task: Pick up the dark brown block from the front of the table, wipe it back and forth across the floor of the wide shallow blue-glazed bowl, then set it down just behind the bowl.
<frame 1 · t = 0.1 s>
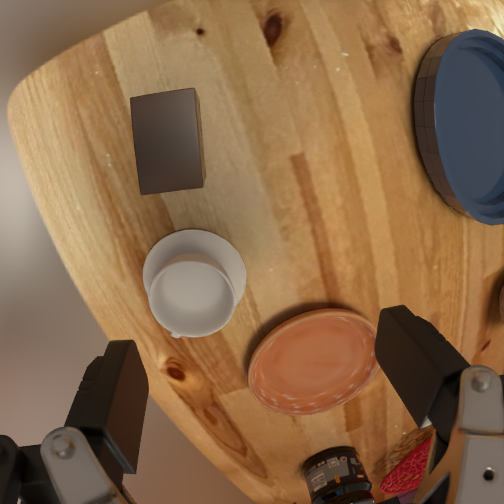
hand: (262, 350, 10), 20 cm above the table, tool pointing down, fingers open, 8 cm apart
glazed bowl: (481, 124, 27), on the table
saucer: (312, 355, 36), on the table
dark brown block: (176, 139, 25), on the table
teacup: (194, 277, 30), on the table
supplement container: (329, 459, 46), on the table
bowl: (431, 443, 52), on the table
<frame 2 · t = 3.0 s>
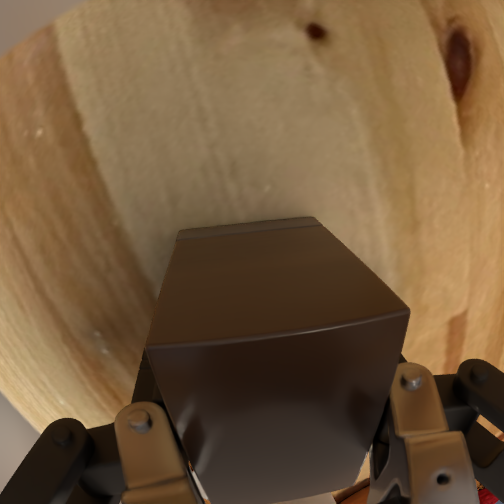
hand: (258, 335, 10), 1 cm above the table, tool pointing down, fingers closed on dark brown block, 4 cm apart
dark brown block: (254, 314, 12), on the table, touching gripper
teacup: (267, 472, 17), on the table
bowl: (464, 500, 38), on the table
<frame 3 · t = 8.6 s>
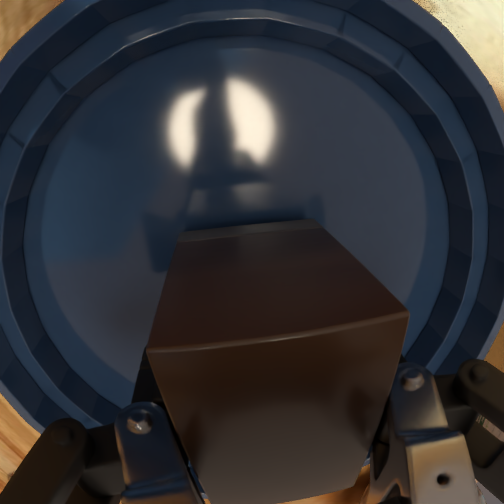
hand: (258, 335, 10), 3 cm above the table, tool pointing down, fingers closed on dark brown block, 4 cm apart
glazed bowl: (246, 287, 13), on the table
dark brown block: (255, 315, 12), point 1 cm above the table, touching gripper
syrup box: (496, 393, 21), on the table
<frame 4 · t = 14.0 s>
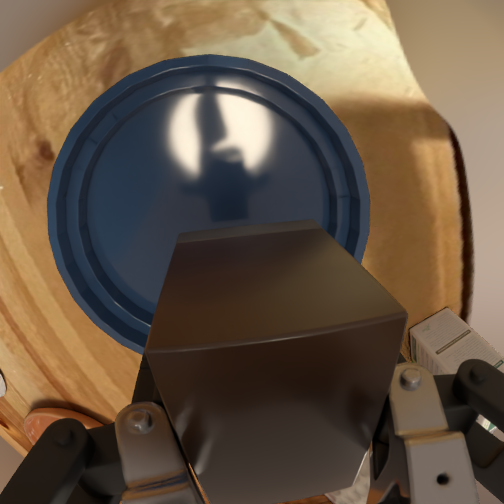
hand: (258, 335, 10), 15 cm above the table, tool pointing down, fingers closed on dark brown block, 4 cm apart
glazed bowl: (206, 217, 24), on the table
saucer: (81, 435, 32), on the table
dark brown block: (254, 315, 12), point 13 cm above the table, touching gripper
vase: (345, 401, 34), on the table
syrup box: (428, 333, 31), on the table
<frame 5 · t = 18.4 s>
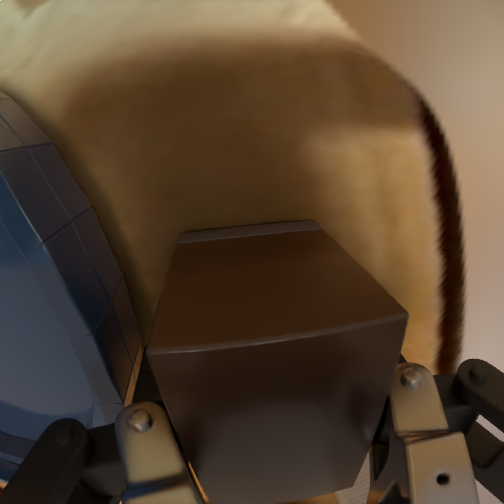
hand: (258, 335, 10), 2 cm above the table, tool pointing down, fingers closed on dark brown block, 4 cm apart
dark brown block: (254, 316, 12), on the table, touching gripper
syrup box: (366, 459, 18), on the table
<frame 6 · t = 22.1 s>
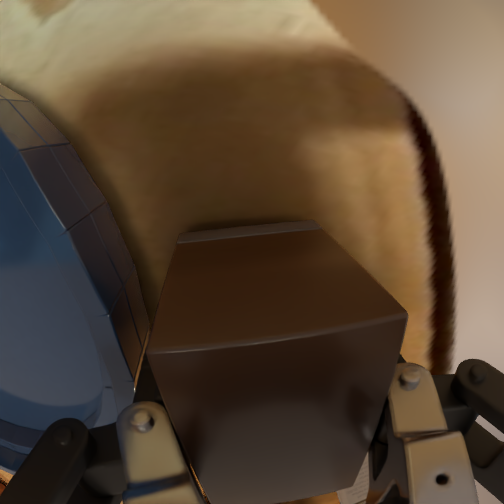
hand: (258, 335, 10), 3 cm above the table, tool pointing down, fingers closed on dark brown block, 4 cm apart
dark brown block: (254, 316, 12), point 1 cm above the table, touching gripper
syrup box: (364, 450, 19), on the table
when the fingers open (2 cm above the table, at t = 25.2 s): dark brown block drops 1 cm, on the table.
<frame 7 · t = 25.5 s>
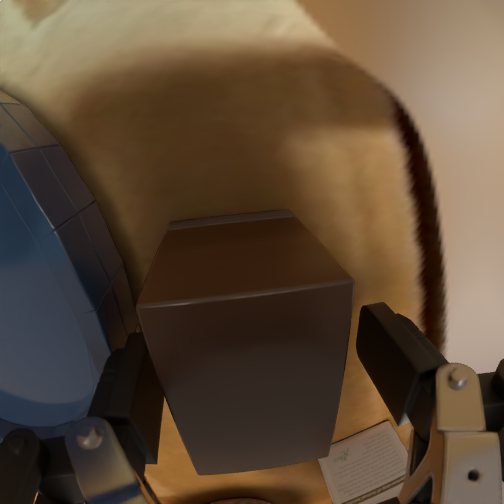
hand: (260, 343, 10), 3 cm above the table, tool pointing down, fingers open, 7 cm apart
dark brown block: (238, 297, 13), on the table
syrup box: (356, 448, 19), on the table
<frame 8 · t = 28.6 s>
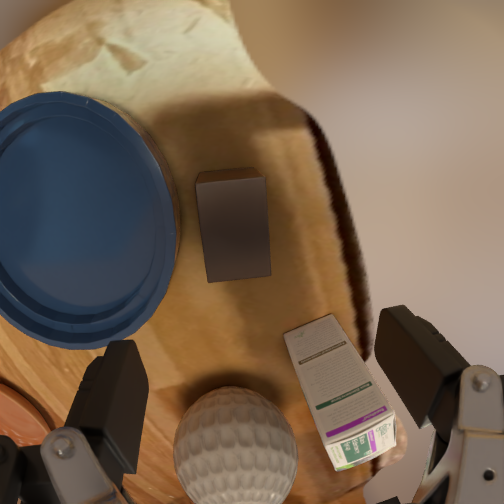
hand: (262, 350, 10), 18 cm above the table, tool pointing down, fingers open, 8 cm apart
glazed bowl: (62, 221, 25), on the table
saucer: (14, 408, 33), on the table
dark brown block: (230, 210, 26), on the table
vase: (230, 401, 35), on the table
syrup box: (314, 340, 33), on the table
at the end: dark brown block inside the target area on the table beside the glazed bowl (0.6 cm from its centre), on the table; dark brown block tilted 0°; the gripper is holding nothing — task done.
